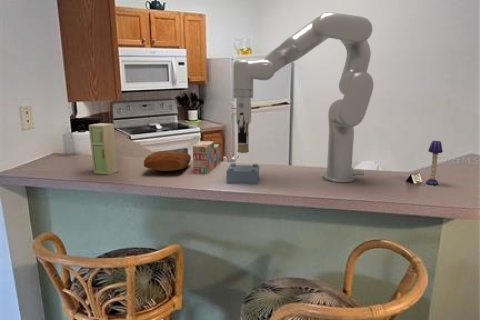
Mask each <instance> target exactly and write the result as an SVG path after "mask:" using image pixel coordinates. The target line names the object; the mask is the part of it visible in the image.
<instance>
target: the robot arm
mask: <svg viewBox="0 0 480 320" xmlns="http://www.w3.org/2000/svg"><path fill="white" fill-rule="evenodd" d="M372 33H373V23H371V21H370V20H369V19H368V18H366V17H364V16H359V15H351V14H347V13H341V12H331V11H329V12H324V13H321V14H320V15H319V16H317V17H315V18H313V20H311V21H310V22H308V23H307V24H306V25H304V26H303V27H302V28H301V29H299V30H298V31H296V32H295V33H293V34H291V36H289V37H287V39H285V40H284V41H283V42H282V43H281V44H280V45H278V46H277V47H276V48H274V49H273V50H272V51H270V52H268V54H267V55H265V56H263V57H262V58H261V59H257V60H249V59H244V60H243V59H239V60H238V59H237V60H235V61H233V66H232V67H233V71H232V72H233V73H232V74H233V81H232V82H233V83H232V84H233V87H232V88H233V89H232V90H233V91H232V93H233V97H232V98H233V99H236V100H235V101H236V102H235V107H236V108H235V110H236V111H235V115H236V116H235V117H236V118H235V119H236V120H235V121H236V125H237V126H238V125H239V128H238V127H237V144H238V143H246V142H247V133H246V124H248V125H250V124H251V123H252V100H251V99H254V80H258V81H269V80H271V79H272V78H273V77H274V75H275V73H276V72H278V71H280V70H281V69H282V68H284V67H286V66H287V65H289V64H291V63H294V62H295V61H298V60H299V59H301V58H302V57H304V56H305V55H306V54H308V53H309V52H311V51H313V50H314V49H315V48H316V47H318V46H319V45H321V44H322V43H323V42H326V40H328V39H335V40H338V41H339V40H340V42H341V43H342V44H343V46H344V48H345V51H346V58H345V63H344V66H343V69H342V74H341V76H340V80H339V83H338V90H339V92H340V93H341V94H342V95H343V98H340V99H337V100H335V101H333V102H332V104H330V106H329V108H328V113H327V115H328V117H327V118H328V119H327V120H328V143H327V144H328V145H327V146H328V147H327V160H326V161H327V163H326V172H324V173H322V178H323V179H324V180H326V181H329V182H334V183H350V182H354V181H355V179H356V176H364V174H365V171H364V170H360V169H354V168H353V166H352V165H353V155H354V154H353V153H354V152H353V151H354V137H355V127H356V126H358V125H360V123H361V122H363V120H364V119H365V116H366V114H367V110H368V107H369V104H370V101H371V98H372V94H373V90H374V79H373V76H372V75H371V74H370V73H369V72H368V69H369V65H370V62H371V57H372V56H371V55H372V53H371V52H372V51H371V47H370V44H369V41H368V39H370V37H371V35H372ZM238 121H239V122H238ZM238 123H239V124H238ZM243 123H245V124H243Z"/></svg>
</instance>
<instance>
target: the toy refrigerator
mask: <svg viewBox="0 0 480 320" xmlns="http://www.w3.org/2000/svg"><path fill="white" fill-rule="evenodd" d="M88 131H89V132H88V133H89V139H90V140H89V141H90V149H91V157H92V159H91V160H92V166H93V173H94V174H99V175H107V174H108V175H111V174H113V173H116V172H119V163H118V153H117V151H118V150H117V143H116V133H115V132H116V131H115V124H114V123H107V122H106V123H101V122H99V123H93V124H88Z"/></svg>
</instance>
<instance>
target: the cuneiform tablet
mask: <svg viewBox="0 0 480 320" xmlns="http://www.w3.org/2000/svg"><path fill="white" fill-rule="evenodd" d="M191 159H192V155H191V154H188V153H186V152H178V151H166V150H163V151H161V150H159V151H155V152H152V153H150V154H148V155H147V156H146V157H145V159H144V160H143V167H144V168H147V169H150V170H154V171H161V172H175V171H179V170H184V169H185V168H187V167H188V166H189V165H190V162H191Z"/></svg>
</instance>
